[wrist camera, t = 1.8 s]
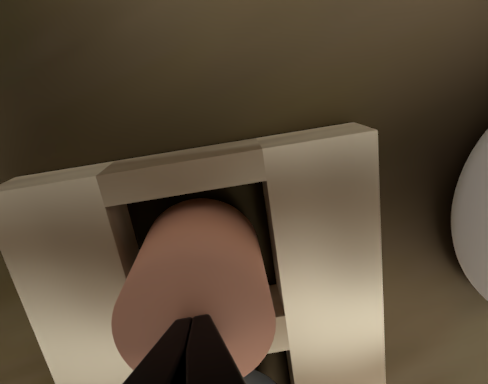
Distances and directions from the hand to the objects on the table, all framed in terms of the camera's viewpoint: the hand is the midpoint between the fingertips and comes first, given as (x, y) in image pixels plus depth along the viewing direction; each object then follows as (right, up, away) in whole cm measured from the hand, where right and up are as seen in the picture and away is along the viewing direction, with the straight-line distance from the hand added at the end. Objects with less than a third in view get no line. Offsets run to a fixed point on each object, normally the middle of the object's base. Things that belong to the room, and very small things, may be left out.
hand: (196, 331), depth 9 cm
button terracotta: (0, +1, +4) cm, 4 cm away
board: (+1, -4, +7) cm, 8 cm away
